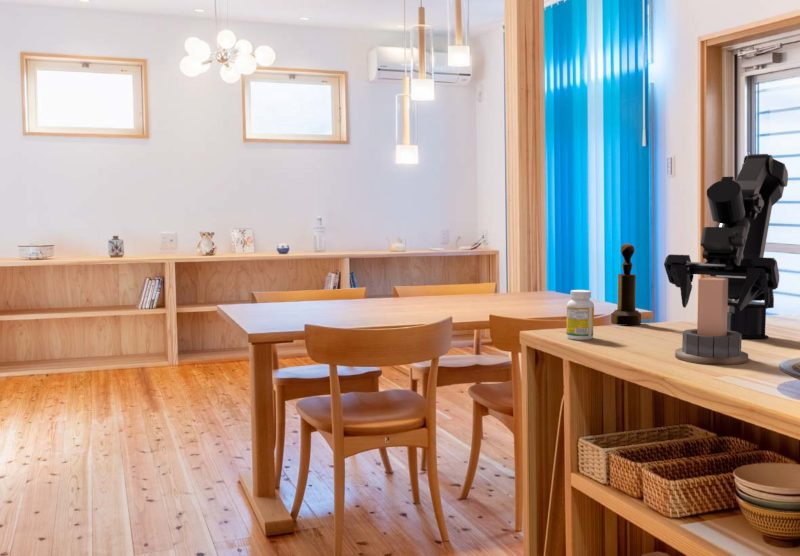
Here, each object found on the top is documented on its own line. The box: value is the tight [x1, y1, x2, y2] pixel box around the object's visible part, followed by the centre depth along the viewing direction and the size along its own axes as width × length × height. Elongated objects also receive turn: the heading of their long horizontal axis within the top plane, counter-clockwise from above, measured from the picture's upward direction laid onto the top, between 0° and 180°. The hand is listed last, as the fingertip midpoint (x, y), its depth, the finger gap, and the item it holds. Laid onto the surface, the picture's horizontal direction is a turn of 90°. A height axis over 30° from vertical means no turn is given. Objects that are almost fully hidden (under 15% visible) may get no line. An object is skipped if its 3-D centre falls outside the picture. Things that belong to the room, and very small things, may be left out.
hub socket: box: [674, 328, 749, 366], centre depth 146 cm, size 12×12×4 cm
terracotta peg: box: [696, 276, 728, 336], centre depth 145 cm, size 4×4×13 cm
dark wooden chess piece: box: [610, 243, 642, 326], centre depth 187 cm, size 7×6×18 cm
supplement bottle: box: [566, 289, 595, 341], centre depth 168 cm, size 5×5×10 cm
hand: (710, 307), depth 144 cm, fingers open, 9 cm apart
